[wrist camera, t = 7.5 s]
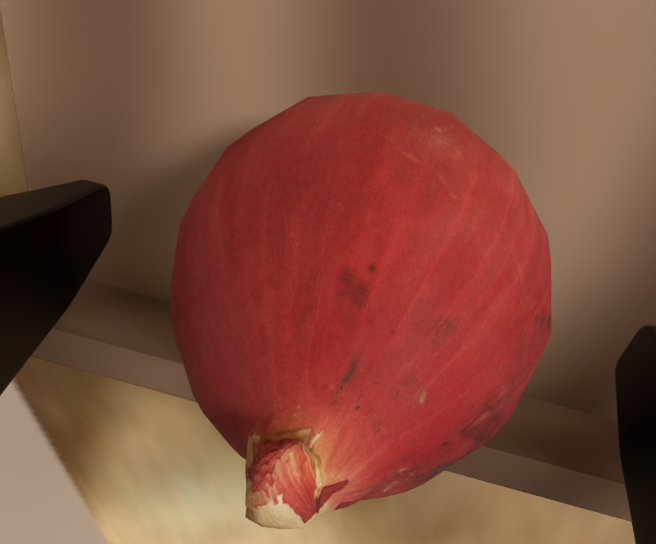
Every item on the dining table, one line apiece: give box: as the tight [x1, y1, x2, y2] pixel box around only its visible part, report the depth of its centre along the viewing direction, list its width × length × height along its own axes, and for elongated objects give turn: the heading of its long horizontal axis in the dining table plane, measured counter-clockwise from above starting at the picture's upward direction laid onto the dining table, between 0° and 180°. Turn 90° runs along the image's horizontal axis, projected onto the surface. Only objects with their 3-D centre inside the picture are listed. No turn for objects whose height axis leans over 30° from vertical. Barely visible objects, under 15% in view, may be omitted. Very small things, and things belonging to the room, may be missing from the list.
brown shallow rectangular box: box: [0, 0, 656, 522], centre depth 13 cm, size 17×12×6 cm
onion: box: [169, 91, 552, 529], centre depth 9 cm, size 6×6×8 cm
